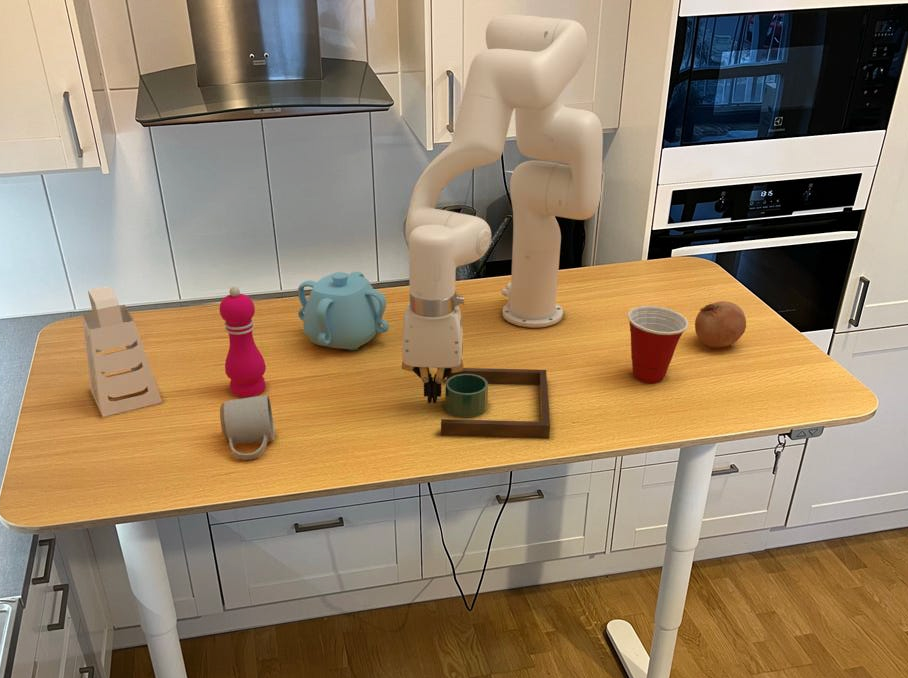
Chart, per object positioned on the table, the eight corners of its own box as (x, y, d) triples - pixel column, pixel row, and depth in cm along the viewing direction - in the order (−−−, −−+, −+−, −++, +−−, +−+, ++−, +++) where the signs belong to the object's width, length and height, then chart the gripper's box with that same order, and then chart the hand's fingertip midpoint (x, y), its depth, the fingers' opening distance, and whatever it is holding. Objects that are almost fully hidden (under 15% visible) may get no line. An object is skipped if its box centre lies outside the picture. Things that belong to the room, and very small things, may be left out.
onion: (698, 362, 183) (683, 323, 177) (707, 331, 188) (693, 292, 182) (747, 356, 177) (733, 315, 171) (755, 324, 182) (742, 284, 177)
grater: (102, 416, 162) (75, 311, 150) (91, 390, 170) (64, 288, 158) (162, 402, 166) (140, 298, 154) (148, 377, 174) (126, 276, 162)
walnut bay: (440, 435, 156) (440, 422, 155) (447, 379, 172) (447, 367, 170) (549, 438, 155) (550, 425, 153) (545, 381, 171) (546, 369, 169)
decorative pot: (394, 350, 182) (392, 285, 174) (313, 362, 178) (307, 296, 170) (372, 316, 194) (369, 254, 187) (297, 327, 190) (291, 264, 183)
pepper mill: (275, 382, 171) (262, 281, 160) (256, 401, 166) (242, 297, 154) (240, 377, 173) (225, 276, 162) (221, 395, 168) (204, 292, 156)
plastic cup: (680, 393, 167) (690, 332, 160) (619, 387, 169) (626, 327, 162) (679, 365, 175) (688, 306, 168) (621, 360, 177) (628, 302, 170)
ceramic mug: (226, 429, 158) (219, 390, 153) (274, 425, 159) (269, 386, 154) (224, 464, 150) (217, 424, 145) (275, 460, 150) (269, 420, 146)
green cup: (436, 406, 164) (436, 383, 161) (466, 391, 168) (466, 369, 165) (466, 422, 159) (467, 399, 157) (495, 406, 163) (496, 383, 161)
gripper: (478, 294, 155) (475, 390, 165) (389, 292, 156) (392, 388, 166) (477, 313, 149) (474, 412, 159) (384, 310, 150) (388, 408, 160)
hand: (432, 399), depth 163 cm, fingers closed
